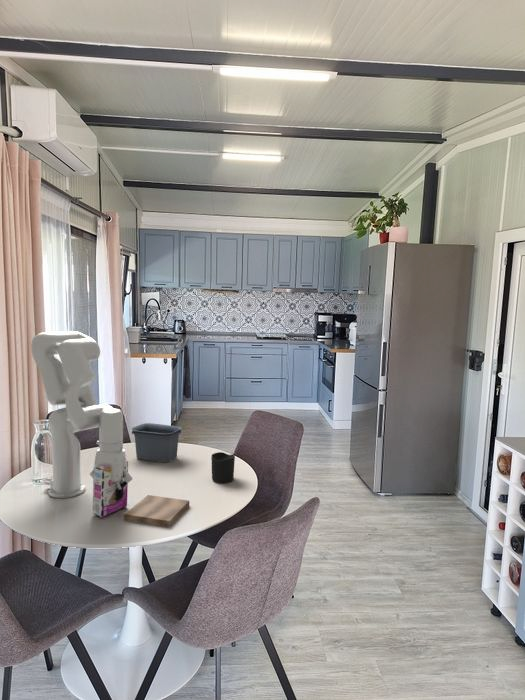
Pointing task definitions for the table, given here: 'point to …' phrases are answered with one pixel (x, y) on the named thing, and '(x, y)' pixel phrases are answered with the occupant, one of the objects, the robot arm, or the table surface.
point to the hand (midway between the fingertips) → (110, 497)
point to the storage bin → (156, 442)
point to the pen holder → (222, 467)
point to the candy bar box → (106, 492)
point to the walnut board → (157, 510)
